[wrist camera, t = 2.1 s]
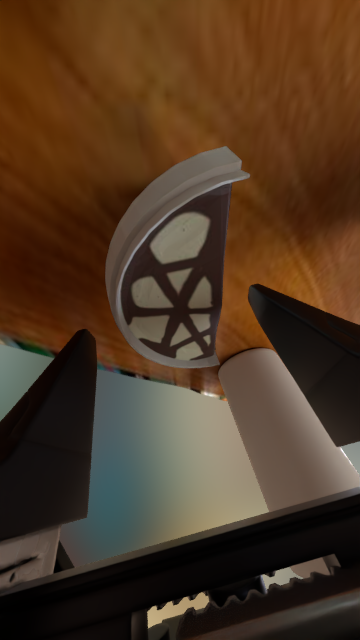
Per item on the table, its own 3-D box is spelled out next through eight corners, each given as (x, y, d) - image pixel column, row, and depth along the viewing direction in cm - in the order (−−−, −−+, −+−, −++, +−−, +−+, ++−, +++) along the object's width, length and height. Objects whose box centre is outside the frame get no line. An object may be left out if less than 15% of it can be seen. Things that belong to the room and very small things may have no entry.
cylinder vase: (285, 342, 34) (443, 547, 17) (260, 373, 43) (348, 530, 26) (224, 351, 32) (337, 598, 15) (211, 382, 41) (272, 560, 24)
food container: (85, 154, 11) (17, 181, 4) (180, 142, 12) (254, 149, 5) (136, 301, 20) (140, 386, 13) (189, 291, 21) (219, 368, 14)
